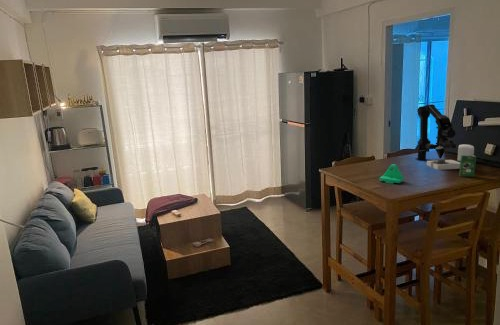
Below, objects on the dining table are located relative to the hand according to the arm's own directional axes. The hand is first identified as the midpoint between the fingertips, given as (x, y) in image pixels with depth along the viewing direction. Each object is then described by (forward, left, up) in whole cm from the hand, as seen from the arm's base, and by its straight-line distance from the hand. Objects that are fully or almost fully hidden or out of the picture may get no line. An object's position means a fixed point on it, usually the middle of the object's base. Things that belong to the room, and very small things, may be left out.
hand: (440, 158), depth 254 cm
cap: (0, 0, -6) cm, 6 cm away
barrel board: (0, +4, -6) cm, 7 cm away
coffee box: (+26, +3, -6) cm, 27 cm away
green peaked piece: (+29, -46, -6) cm, 55 cm away
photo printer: (-12, +26, -6) cm, 29 cm away
